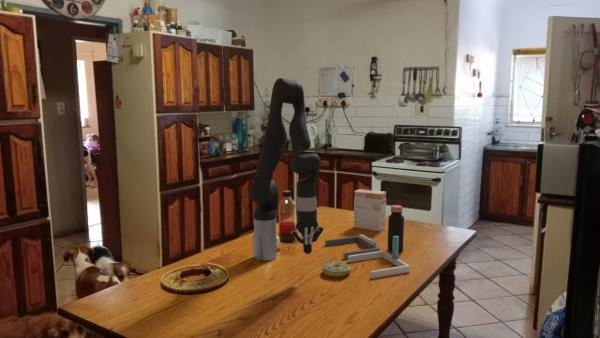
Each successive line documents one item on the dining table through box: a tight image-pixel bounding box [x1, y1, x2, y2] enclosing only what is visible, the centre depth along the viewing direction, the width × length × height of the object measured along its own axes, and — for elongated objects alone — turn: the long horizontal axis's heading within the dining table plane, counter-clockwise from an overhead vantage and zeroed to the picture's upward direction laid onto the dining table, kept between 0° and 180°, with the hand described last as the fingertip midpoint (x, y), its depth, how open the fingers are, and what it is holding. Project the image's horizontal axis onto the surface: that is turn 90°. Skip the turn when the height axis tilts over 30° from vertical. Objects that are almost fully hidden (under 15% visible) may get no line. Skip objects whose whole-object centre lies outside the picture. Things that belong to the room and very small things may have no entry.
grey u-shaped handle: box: [324, 233, 381, 260], centre depth 204 cm, size 18×19×4 cm
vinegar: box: [387, 204, 405, 253], centre depth 202 cm, size 7×7×20 cm
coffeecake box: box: [353, 188, 387, 233], centre depth 236 cm, size 15×7×20 cm, turn 58°
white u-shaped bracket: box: [347, 236, 411, 279], centre depth 183 cm, size 18×19×12 cm
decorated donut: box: [322, 261, 352, 279], centre depth 177 cm, size 10×11×4 cm
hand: (307, 253), depth 171 cm, fingers closed
